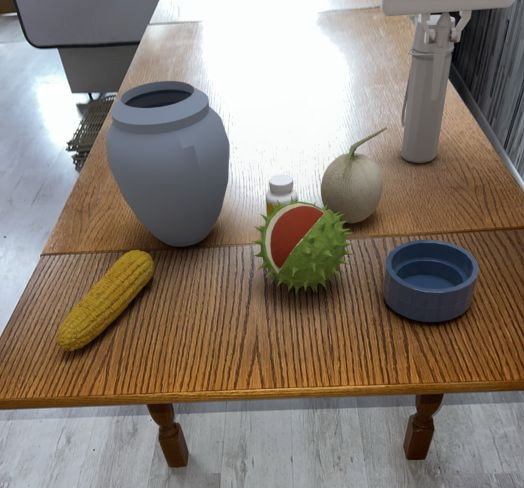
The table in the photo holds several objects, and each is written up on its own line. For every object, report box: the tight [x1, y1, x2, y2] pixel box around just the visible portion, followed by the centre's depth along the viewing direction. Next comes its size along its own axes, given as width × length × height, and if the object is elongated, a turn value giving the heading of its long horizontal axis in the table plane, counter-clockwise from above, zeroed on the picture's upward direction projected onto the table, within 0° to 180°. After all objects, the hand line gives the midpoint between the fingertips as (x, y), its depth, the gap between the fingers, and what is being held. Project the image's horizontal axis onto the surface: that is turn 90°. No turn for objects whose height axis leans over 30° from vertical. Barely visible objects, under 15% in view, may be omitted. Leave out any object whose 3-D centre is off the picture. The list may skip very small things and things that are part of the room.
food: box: [56, 249, 155, 352], centre depth 82 cm, size 21×6×6 cm, turn 157°
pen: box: [431, 12, 452, 101], centre depth 91 cm, size 2×3×14 cm
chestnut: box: [251, 196, 354, 296], centre depth 81 cm, size 15×14×15 cm
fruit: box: [320, 126, 388, 224], centre depth 93 cm, size 10×12×15 cm
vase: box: [105, 80, 231, 248], centre depth 90 cm, size 20×20×24 cm
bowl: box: [382, 239, 480, 323], centre depth 79 cm, size 13×13×6 cm
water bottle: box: [400, 14, 456, 164], centre depth 106 cm, size 9×8×25 cm
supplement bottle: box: [265, 173, 299, 217], centre depth 94 cm, size 5×5×10 cm
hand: (441, 42), depth 90 cm, fingers closed on pen, 2 cm apart
